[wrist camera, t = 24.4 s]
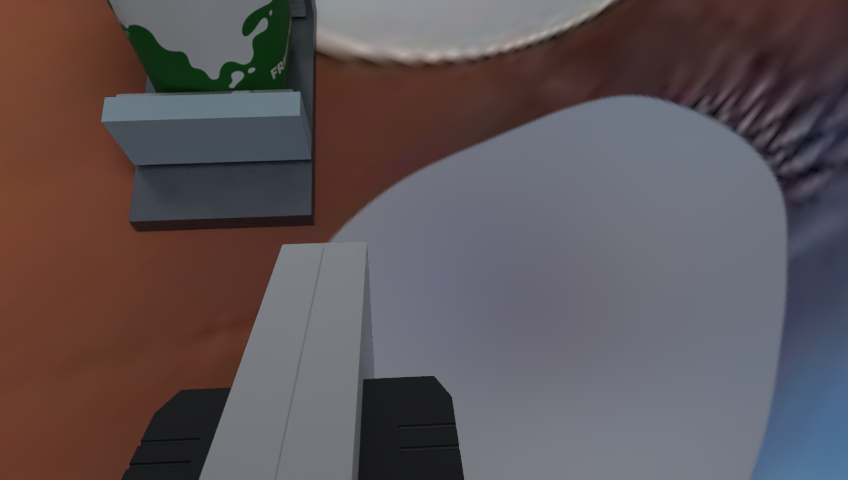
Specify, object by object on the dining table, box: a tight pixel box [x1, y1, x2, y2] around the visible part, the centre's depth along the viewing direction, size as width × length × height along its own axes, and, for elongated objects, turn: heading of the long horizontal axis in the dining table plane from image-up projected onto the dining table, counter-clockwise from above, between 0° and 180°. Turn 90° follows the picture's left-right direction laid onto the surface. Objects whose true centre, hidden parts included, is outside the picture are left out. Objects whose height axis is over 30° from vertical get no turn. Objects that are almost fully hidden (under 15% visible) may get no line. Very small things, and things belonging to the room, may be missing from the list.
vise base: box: [129, 0, 317, 231], centre depth 44 cm, size 17×11×6 cm, turn 3°
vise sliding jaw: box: [101, 89, 312, 165], centre depth 42 cm, size 2×11×5 cm, turn 93°
